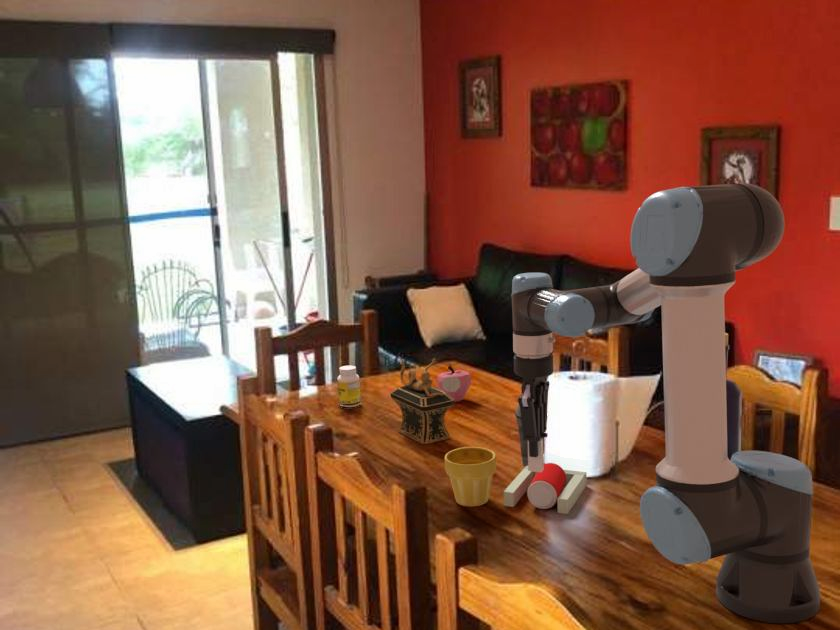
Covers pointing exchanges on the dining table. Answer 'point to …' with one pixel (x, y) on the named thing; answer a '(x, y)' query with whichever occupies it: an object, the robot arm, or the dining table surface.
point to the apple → (454, 383)
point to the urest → (566, 498)
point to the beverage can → (547, 486)
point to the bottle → (733, 411)
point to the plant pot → (471, 474)
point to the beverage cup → (522, 442)
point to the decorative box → (422, 407)
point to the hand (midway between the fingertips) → (536, 470)
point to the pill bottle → (348, 387)
